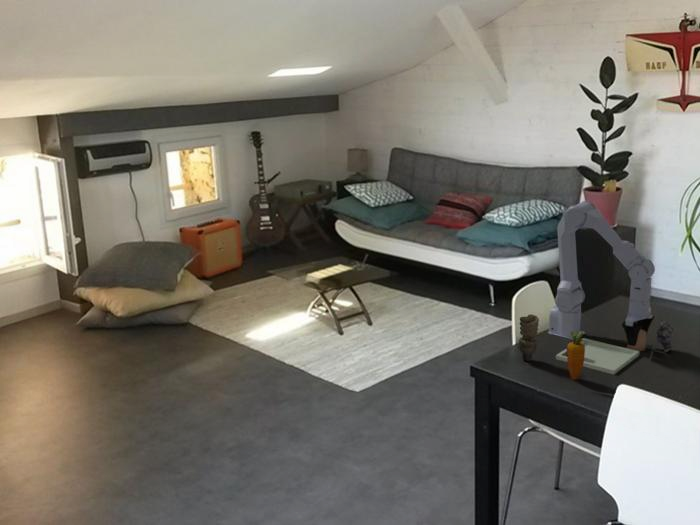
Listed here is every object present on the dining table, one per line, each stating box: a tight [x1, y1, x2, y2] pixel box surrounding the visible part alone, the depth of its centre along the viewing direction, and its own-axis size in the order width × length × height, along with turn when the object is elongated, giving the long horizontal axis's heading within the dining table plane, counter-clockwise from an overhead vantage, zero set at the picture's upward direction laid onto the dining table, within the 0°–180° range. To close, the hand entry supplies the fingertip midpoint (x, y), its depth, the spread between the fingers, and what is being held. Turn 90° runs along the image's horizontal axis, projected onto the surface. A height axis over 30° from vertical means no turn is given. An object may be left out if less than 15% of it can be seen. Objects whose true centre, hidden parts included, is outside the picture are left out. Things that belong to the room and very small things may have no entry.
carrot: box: [566, 331, 585, 381], centre depth 202 cm, size 5×5×15 cm
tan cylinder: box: [626, 329, 647, 352], centre depth 223 cm, size 5×5×6 cm
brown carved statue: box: [518, 314, 540, 362], centre depth 216 cm, size 6×6×15 cm
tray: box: [555, 337, 641, 375], centre depth 218 cm, size 18×18×2 cm
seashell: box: [655, 320, 676, 353], centre depth 221 cm, size 5×5×10 cm
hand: (636, 341), depth 223 cm, fingers open, 7 cm apart
